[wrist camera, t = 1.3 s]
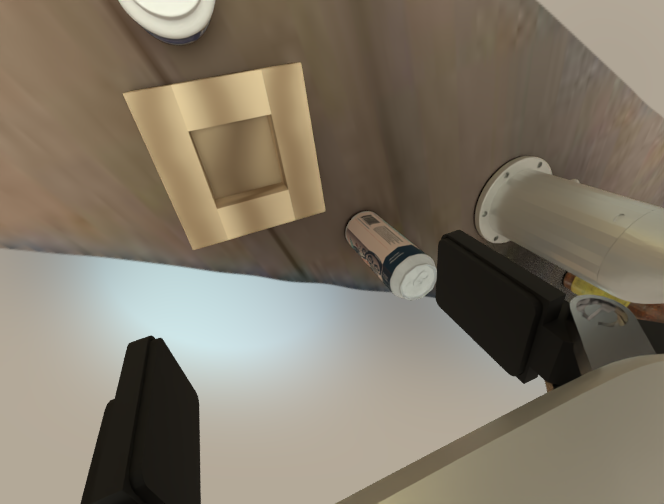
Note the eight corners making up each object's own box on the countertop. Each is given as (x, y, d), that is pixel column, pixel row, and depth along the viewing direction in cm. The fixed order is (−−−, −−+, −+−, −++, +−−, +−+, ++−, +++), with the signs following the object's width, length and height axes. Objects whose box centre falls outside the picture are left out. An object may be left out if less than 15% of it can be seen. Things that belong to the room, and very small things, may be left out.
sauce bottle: (561, 292, 63) (688, 369, 47) (560, 272, 59) (697, 349, 43) (587, 272, 63) (723, 343, 47) (588, 252, 59) (735, 320, 43)
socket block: (291, 62, 27) (301, 62, 25) (316, 201, 34) (325, 211, 32) (129, 91, 24) (122, 93, 22) (193, 236, 31) (193, 250, 29)
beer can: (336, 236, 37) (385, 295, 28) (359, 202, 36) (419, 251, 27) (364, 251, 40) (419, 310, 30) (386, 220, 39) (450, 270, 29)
